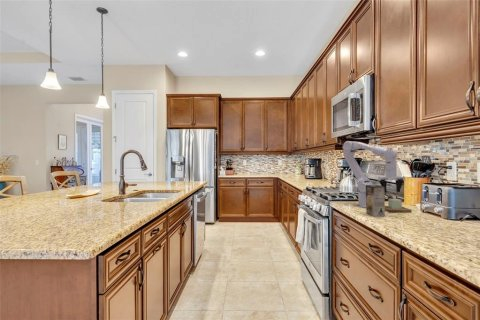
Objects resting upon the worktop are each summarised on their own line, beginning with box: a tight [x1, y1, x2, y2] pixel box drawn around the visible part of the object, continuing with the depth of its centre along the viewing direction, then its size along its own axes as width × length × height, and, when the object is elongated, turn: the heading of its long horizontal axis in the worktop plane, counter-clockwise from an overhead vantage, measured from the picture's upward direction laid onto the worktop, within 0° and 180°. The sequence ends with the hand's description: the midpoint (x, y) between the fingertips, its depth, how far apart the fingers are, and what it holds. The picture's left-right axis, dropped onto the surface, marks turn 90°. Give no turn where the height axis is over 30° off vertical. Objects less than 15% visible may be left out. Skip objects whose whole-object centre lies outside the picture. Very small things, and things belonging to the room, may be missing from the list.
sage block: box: [387, 198, 403, 209], centre depth 153 cm, size 5×5×5 cm
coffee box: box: [365, 184, 386, 217], centre depth 143 cm, size 9×6×16 cm
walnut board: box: [385, 205, 413, 214], centre depth 153 cm, size 12×12×2 cm
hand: (391, 192), depth 155 cm, fingers open, 7 cm apart
